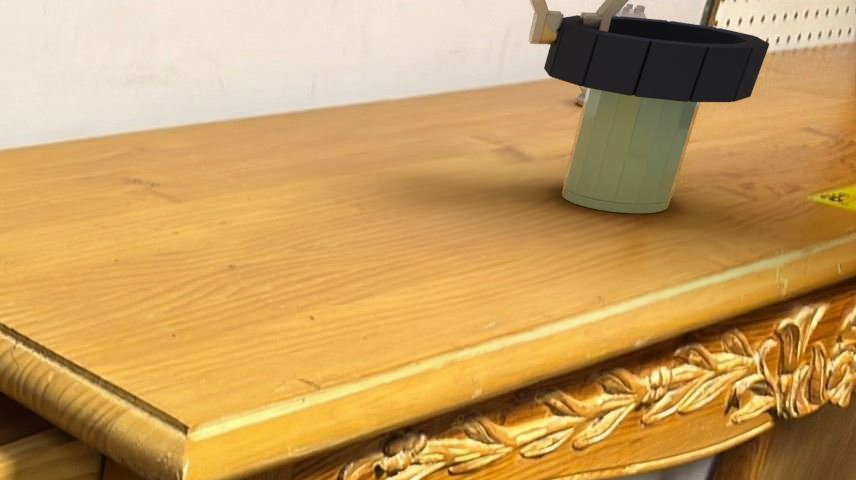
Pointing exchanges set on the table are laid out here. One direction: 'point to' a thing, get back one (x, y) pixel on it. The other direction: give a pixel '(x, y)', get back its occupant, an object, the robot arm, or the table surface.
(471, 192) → the table surface
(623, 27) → the ring
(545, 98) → the table surface
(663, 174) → the cup
